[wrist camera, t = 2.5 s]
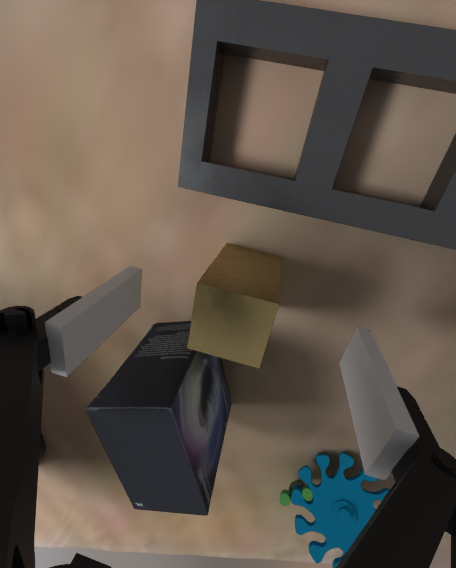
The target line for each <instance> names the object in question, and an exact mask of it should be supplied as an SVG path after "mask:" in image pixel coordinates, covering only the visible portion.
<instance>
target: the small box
mask: <svg viewBox="0 0 456 568" xmlns="http://www.w3.org/2000/svg"><path fill="white" fill-rule="evenodd" d="M190 327H191V321H187V322H173V323H157V324H154V325H153V326H152V328H151V329H150V330H149V332H148V333H147V334H146V336H145V337H144V338H143V339H142V341H141V342H140V343H139V345H138V346H137V347H136V348H135V350H134V351H133V352H132V353H131V355H130V356H129V357H128V358H127V360H126V361H125V362H124V363H123V365H122V366H121V367H120V368H119V370H118V371H117V372H116V373H115V375H114V376H113V377H112V378H111V380H110V381H109V382H108V383H107V385H106V386H105V387H104V388H103V389H102V390H101V392H100V393H99V394H98V395H97V397H96V398H94V399H93V401H92V402H91V403H90V404H89V405H88V406H87V408H86V409H85V410H86V413H87V415H88V417H89V419H90V421H91V423H92V425H93V427H94V429H95V431H96V433H97V435H98V437H99V439H100V441H101V443H102V445H103V447H104V449H105V451H106V453H107V455H108V457H109V459H110V461H111V463H112V465H113V467H114V469H115V471H116V473H117V475H118V477H119V479H120V481H121V483H122V485H123V487H124V489H125V491H126V493H127V495H128V497H129V499H130V501H131V503H132V505H133V507H134V509H140V510H151V511H161V512H171V513H183V514H195V515H208V511H209V505H210V500H211V495H212V491H213V487H214V482H215V477H216V472H217V468H218V463H219V458H220V454H221V449H222V444H223V440H224V435H225V430H226V426H227V421H228V417H229V412H230V408H231V400H230V396H229V392H228V387H227V383H226V379H225V375H224V370H223V366H222V361H221V358H220V357H217V356H213V355H210V354H206V353H203V352H199V351H196V350H192V349H188V348H187V347H188V340H189V334H190Z"/></svg>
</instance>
